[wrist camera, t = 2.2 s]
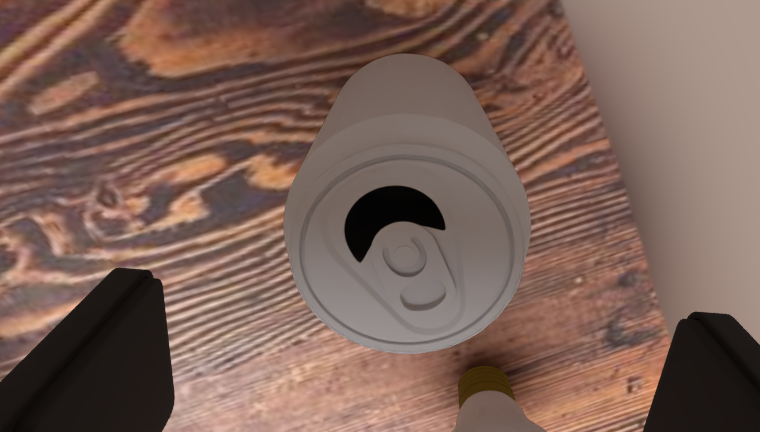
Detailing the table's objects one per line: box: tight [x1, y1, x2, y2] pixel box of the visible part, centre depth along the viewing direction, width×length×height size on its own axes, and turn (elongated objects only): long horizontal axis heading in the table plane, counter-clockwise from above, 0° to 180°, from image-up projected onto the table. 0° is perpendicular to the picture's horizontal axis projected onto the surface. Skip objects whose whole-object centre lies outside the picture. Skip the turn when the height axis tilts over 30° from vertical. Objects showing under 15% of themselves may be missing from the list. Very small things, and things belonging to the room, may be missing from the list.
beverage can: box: [284, 53, 531, 354], centre depth 19 cm, size 6×6×12 cm
